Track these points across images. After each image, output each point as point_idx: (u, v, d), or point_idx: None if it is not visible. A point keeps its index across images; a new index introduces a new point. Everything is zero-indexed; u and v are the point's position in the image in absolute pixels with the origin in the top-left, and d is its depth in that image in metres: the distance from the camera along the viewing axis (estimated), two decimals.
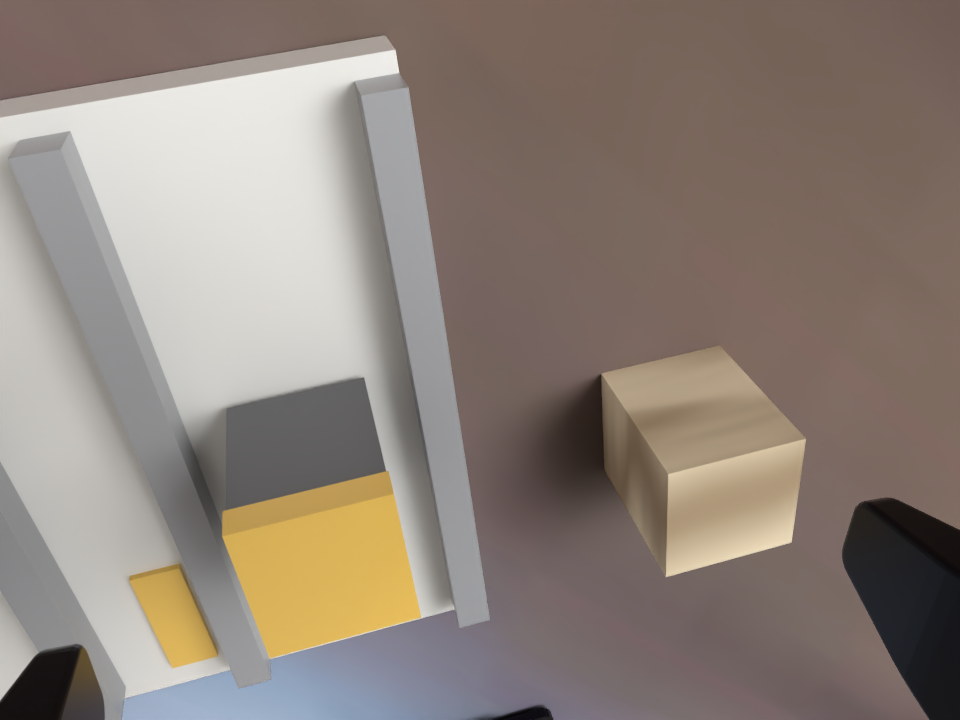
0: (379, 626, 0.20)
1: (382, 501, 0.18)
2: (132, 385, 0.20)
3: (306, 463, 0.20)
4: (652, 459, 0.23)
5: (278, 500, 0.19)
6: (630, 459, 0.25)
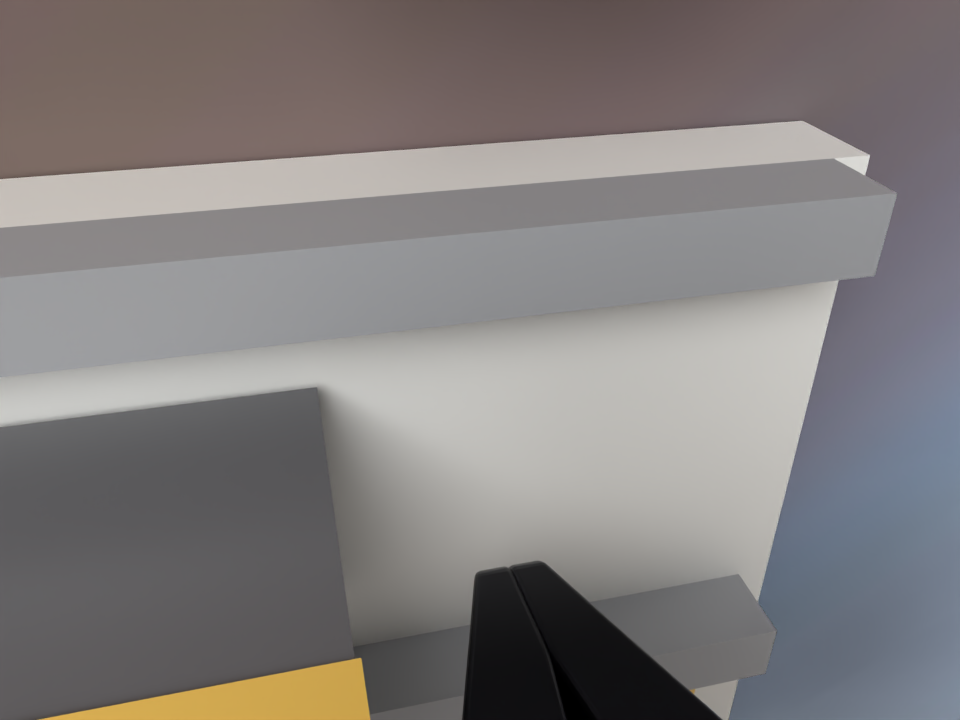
0: None
1: None
2: None
3: None
4: None
5: None
6: None
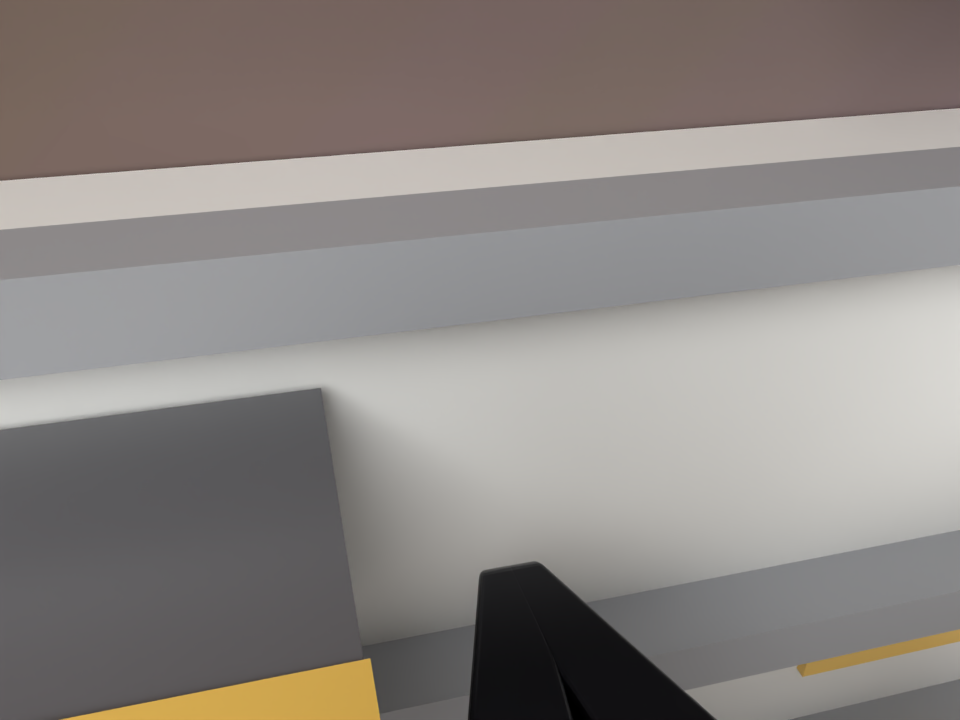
0: None
1: None
2: None
3: None
4: None
5: None
6: None
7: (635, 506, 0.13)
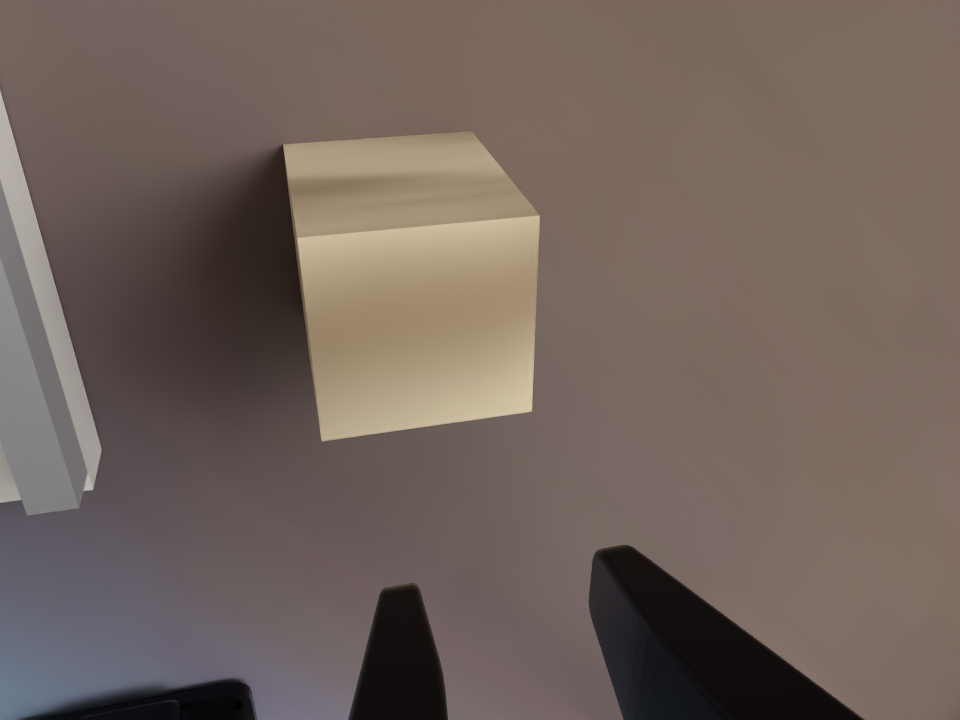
0: None
1: None
2: None
3: None
4: None
5: None
6: (298, 263, 0.16)
7: None
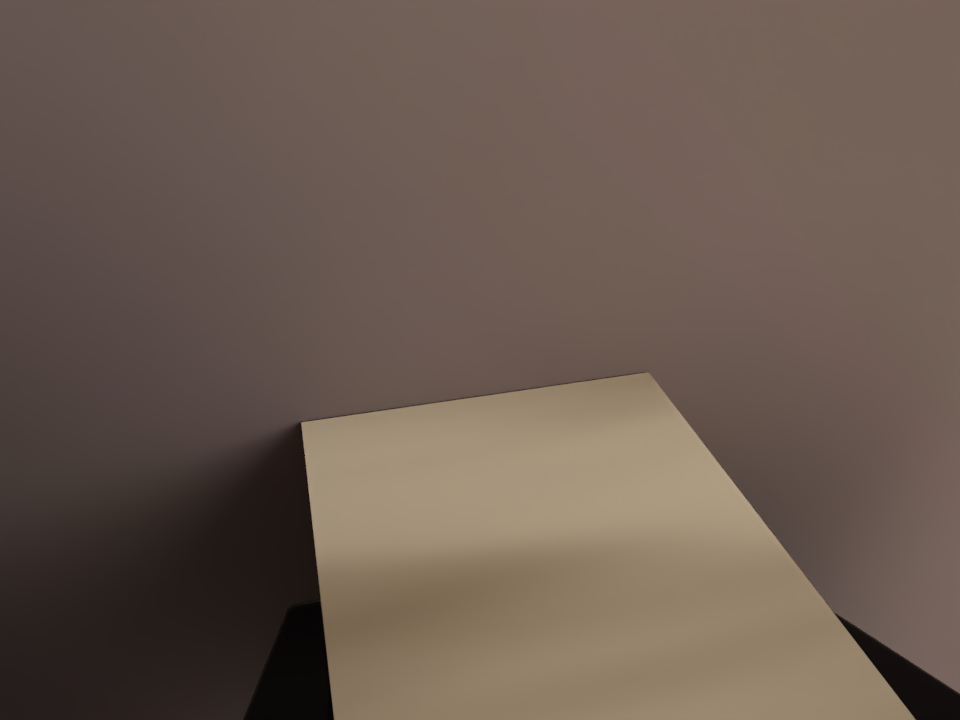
0: None
1: None
2: None
3: None
4: None
5: None
6: None
7: None
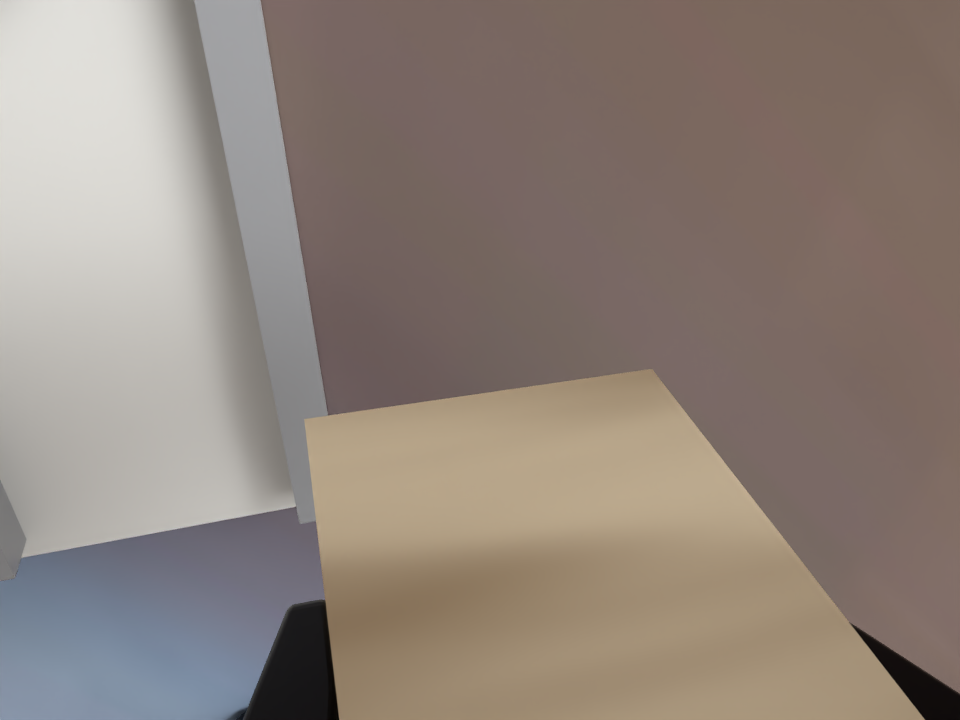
0: None
1: None
2: None
3: None
4: None
5: None
6: None
7: None
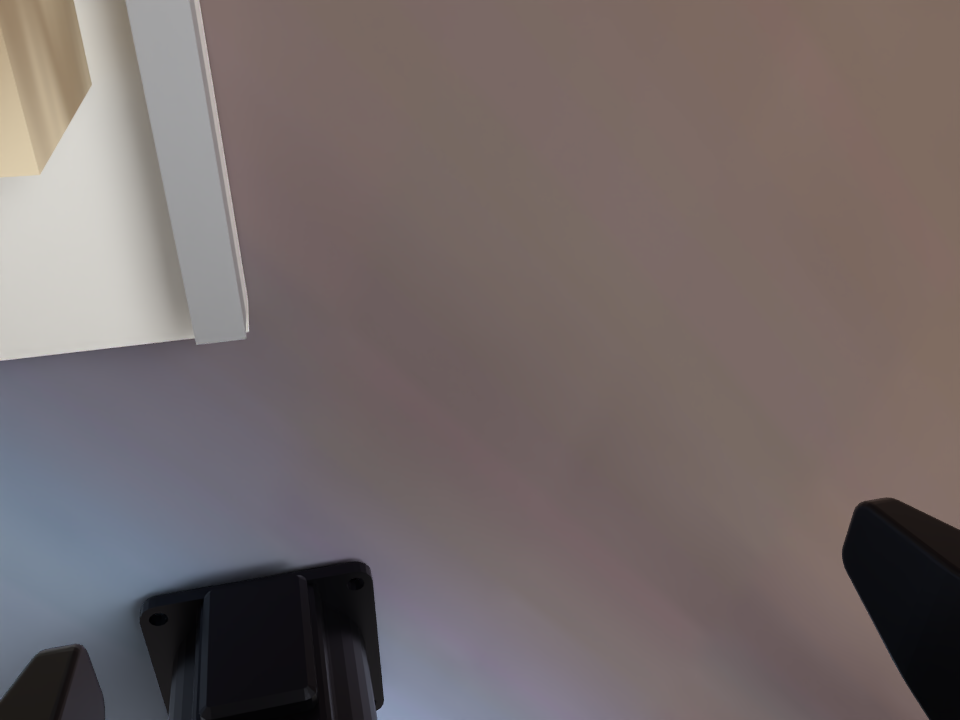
0: None
1: None
2: None
3: None
4: None
5: None
6: None
7: None
